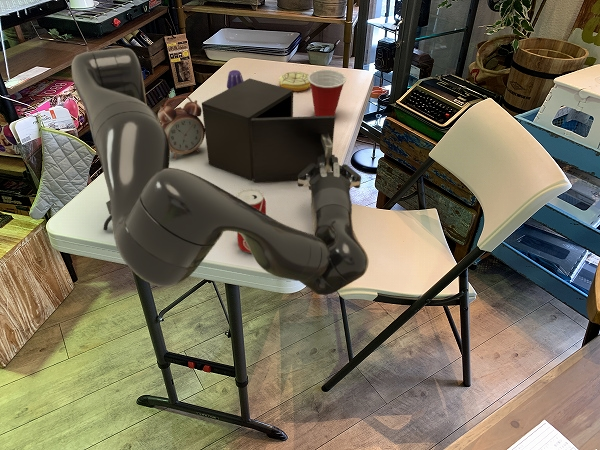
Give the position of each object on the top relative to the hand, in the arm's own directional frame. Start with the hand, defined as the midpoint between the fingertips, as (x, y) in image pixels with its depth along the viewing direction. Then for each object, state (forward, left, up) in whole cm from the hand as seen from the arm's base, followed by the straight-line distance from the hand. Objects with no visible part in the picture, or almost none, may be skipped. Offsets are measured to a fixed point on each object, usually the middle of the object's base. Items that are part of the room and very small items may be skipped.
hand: (327, 158), depth 96 cm
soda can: (-25, +2, -8) cm, 26 cm away
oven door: (-4, +6, -8) cm, 11 cm away
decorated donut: (+47, +37, -8) cm, 61 cm away
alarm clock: (-6, +37, -8) cm, 39 cm away
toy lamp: (+11, +33, -8) cm, 36 cm away
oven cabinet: (+2, +22, -8) cm, 24 cm away
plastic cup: (+33, +18, -8) cm, 39 cm away
